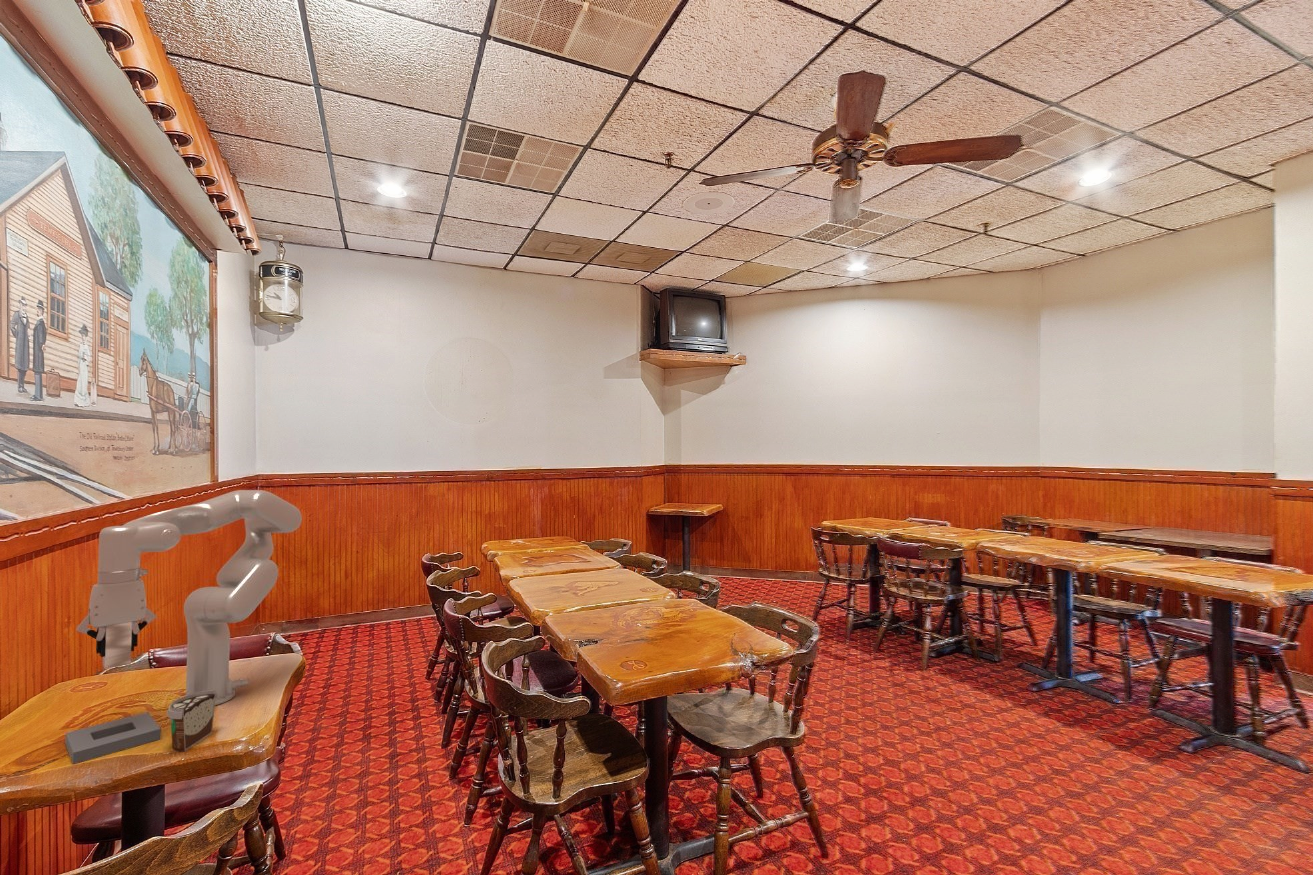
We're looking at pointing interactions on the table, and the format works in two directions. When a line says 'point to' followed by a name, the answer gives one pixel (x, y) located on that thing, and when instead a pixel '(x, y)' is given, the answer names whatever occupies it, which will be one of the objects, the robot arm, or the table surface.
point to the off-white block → (117, 645)
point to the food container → (191, 719)
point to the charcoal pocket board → (111, 737)
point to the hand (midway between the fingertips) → (116, 652)
